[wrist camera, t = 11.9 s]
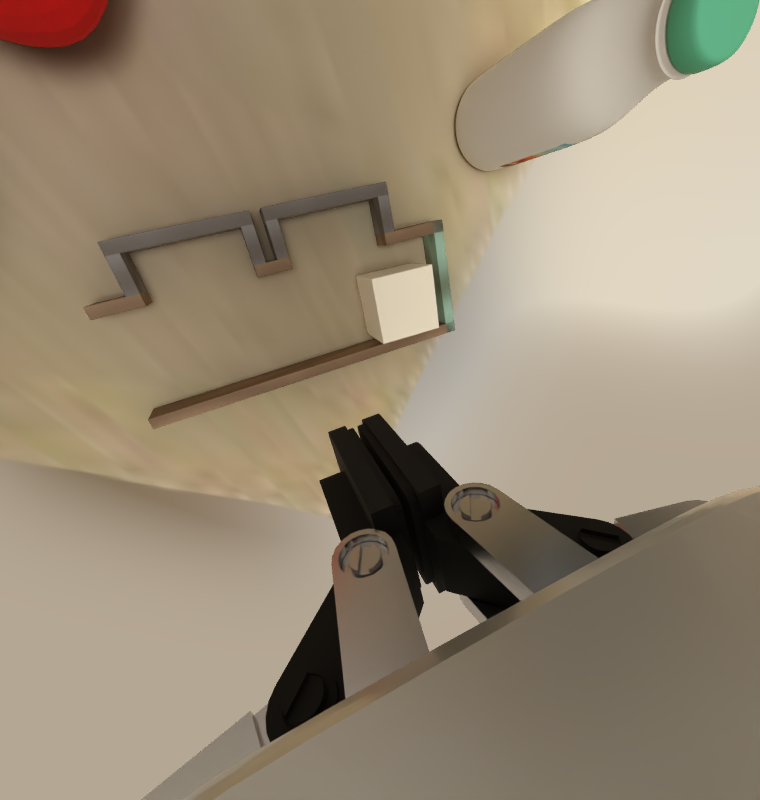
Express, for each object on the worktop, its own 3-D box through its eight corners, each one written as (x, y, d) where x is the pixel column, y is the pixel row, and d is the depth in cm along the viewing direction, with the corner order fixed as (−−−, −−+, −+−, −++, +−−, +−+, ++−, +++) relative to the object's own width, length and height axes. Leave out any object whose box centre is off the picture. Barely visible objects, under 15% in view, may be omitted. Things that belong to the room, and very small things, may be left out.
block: (355, 275, 36) (371, 279, 32) (409, 263, 37) (432, 264, 33) (367, 333, 39) (383, 343, 34) (417, 319, 40) (439, 327, 36)
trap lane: (65, 251, 28) (50, 251, 25) (423, 176, 35) (436, 171, 32) (158, 418, 34) (153, 429, 32) (443, 326, 41) (454, 330, 39)
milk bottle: (456, 178, 36) (662, 107, 18) (448, 79, 32) (693, -120, 15) (520, 167, 38) (762, 93, 20) (519, 72, 34) (809, -112, 17)
